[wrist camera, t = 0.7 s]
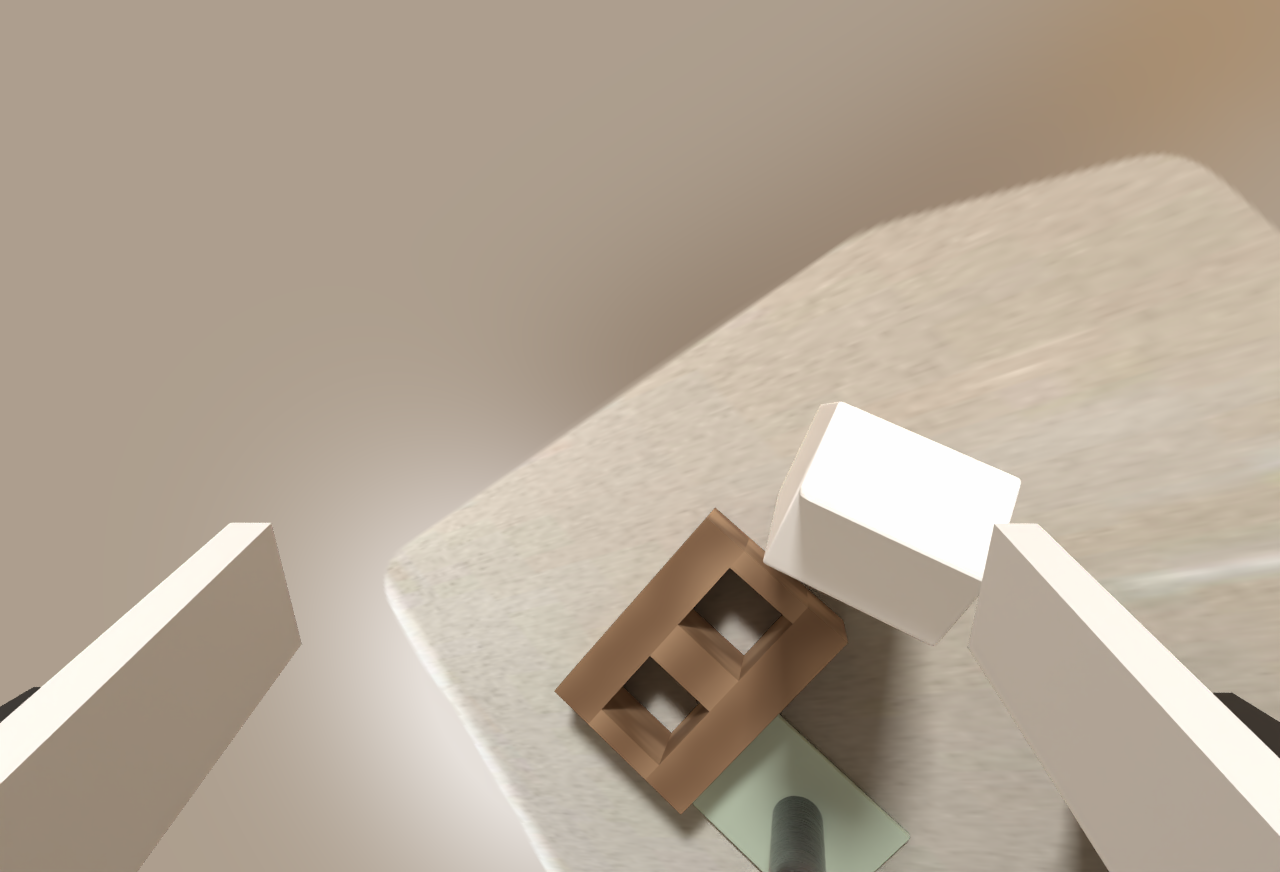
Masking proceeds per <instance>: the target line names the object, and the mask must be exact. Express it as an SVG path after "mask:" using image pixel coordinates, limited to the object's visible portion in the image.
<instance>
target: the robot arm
mask: <svg viewBox="0 0 1280 872" xmlns="http://www.w3.org/2000/svg"><path fill="white" fill-rule="evenodd" d="M301 644H302V643H301V640H300V635H299V631H298V627H297V623H296V619H295V615H294V612H293V607H292V603H291V600H290V595H289V591H288V588H287V583H286V580H285V576H284V571H283V567H282V564H281V559H280V555H279V551H278V547H277V543H276V539H275V535H274V531H273V528H272V524H271V523H230V524H229V525H227V526H226V527H225V528H224V529H223V530H222V531H220V532H219V533H218V534H217V535H216V536H215V537H214V538H212V539H211V540H210V541H209V542H208V543H207V544H206V545H204V546H203V547H202V548H201V549H200V550H199V551H198V552H196V553H195V554H194V555H193V556H192V557H191V558H189V559H188V560H187V561H186V562H185V563H184V564H182V565H181V566H180V567H179V568H178V569H177V570H176V571H174V572H173V573H172V574H171V575H170V576H169V577H168V578H167V579H165V580H164V581H163V582H162V583H161V584H159V585H158V586H157V587H156V588H155V589H154V590H153V591H151V592H150V593H149V594H148V595H147V596H146V597H145V598H143V599H142V600H141V601H140V602H139V603H138V604H136V605H135V606H134V607H133V608H132V609H131V610H130V611H129V612H127V613H126V614H125V615H124V616H123V617H122V618H120V619H119V620H118V621H117V622H116V623H115V624H113V625H112V626H111V627H110V628H109V629H108V630H107V631H105V632H104V633H103V634H102V635H101V636H100V637H99V638H97V640H95V641H94V642H93V643H92V644H91V645H89V646H88V647H87V648H86V649H85V650H84V651H82V652H81V653H80V654H79V655H78V656H77V657H76V658H74V659H73V660H72V661H71V662H70V663H69V664H68V665H66V666H65V667H64V668H63V669H62V670H61V671H60V672H58V673H57V674H56V675H55V676H54V677H53V678H51V679H50V680H49V681H48V682H47V683H46V684H44V685H43V686H42V687H33V688H31V689H30V690H28V691H26V692H24V693H23V694H21V695H19V696H18V697H16V698H14V699H13V700H11V701H9V702H8V703H6V704H4V705H2V706H1V707H0V872H137V871H138V870H139V869H140V867H141V866H142V865H143V863H144V862H145V860H146V859H147V858H148V856H149V855H150V853H151V852H152V851H153V849H154V848H155V846H156V845H157V843H158V842H159V841H160V840H161V838H162V837H163V835H164V834H165V833H166V831H167V830H168V828H169V827H170V826H171V824H172V823H173V822H174V820H175V819H176V817H177V816H178V815H179V813H180V812H181V810H182V809H183V808H184V806H185V805H186V803H187V802H188V801H189V799H190V798H191V797H192V795H193V794H194V792H195V791H196V790H197V788H198V787H199V786H200V784H201V783H202V781H203V780H204V779H205V777H206V775H207V774H208V773H209V772H210V770H211V769H212V768H213V766H214V765H215V763H216V762H217V761H218V759H219V758H220V756H221V755H222V754H223V752H224V751H225V750H226V748H227V747H228V745H229V744H230V743H231V741H232V740H233V738H234V737H235V736H236V734H237V733H238V731H239V730H240V729H241V727H242V725H244V723H245V722H246V720H247V719H248V718H249V716H250V715H251V713H252V712H253V711H254V709H255V708H256V706H257V705H258V704H259V702H260V701H261V700H262V698H263V697H264V695H265V694H266V693H267V691H268V690H269V688H270V687H271V686H272V684H273V683H274V682H275V680H276V679H277V677H278V676H279V675H280V673H281V672H282V670H283V669H284V668H285V666H286V665H287V664H288V662H289V661H290V659H291V658H292V656H293V655H294V654H295V652H296V651H297V650H298V648H299V647H300V645H301ZM968 649H969V650H970V652H971V654H972V655H973V657H974V658H975V660H976V662H977V663H978V665H979V666H980V668H981V669H982V671H983V673H984V674H985V676H986V677H987V679H988V681H989V682H990V684H991V685H992V687H993V688H994V690H995V692H996V693H997V695H998V696H999V698H1000V700H1001V701H1002V703H1003V704H1004V706H1005V707H1006V709H1007V711H1008V712H1009V714H1010V715H1011V717H1012V719H1013V720H1014V722H1015V723H1016V725H1017V726H1018V728H1019V730H1020V731H1021V733H1022V734H1023V736H1024V738H1025V739H1026V741H1027V742H1028V744H1029V745H1030V747H1031V749H1032V750H1033V752H1034V753H1035V755H1036V757H1037V758H1038V760H1039V761H1040V763H1041V764H1042V766H1043V768H1044V769H1045V771H1046V772H1047V774H1048V776H1049V777H1050V779H1051V780H1052V782H1053V784H1054V785H1055V787H1056V788H1057V790H1058V791H1059V793H1060V795H1061V796H1062V798H1063V799H1064V801H1065V803H1066V804H1067V806H1068V807H1069V809H1070V810H1071V812H1072V814H1073V815H1074V817H1075V818H1076V820H1077V822H1078V823H1079V825H1080V826H1081V828H1082V829H1083V831H1084V833H1085V834H1086V836H1087V837H1088V839H1089V841H1090V842H1091V844H1092V845H1093V847H1094V848H1095V850H1096V852H1097V853H1098V855H1099V856H1100V858H1101V860H1102V861H1103V863H1104V864H1105V866H1106V867H1107V869H1108V871H1109V872H1280V722H1279V721H1277V720H1275V719H1274V718H1272V717H1270V716H1269V715H1267V714H1266V713H1264V712H1262V711H1261V710H1259V709H1257V708H1256V707H1254V706H1253V705H1251V704H1249V703H1248V702H1246V701H1245V700H1243V699H1241V698H1240V697H1238V696H1236V695H1235V694H1233V693H1212V692H1211V691H1210V690H1209V689H1208V688H1206V687H1205V686H1204V685H1203V684H1202V683H1201V682H1200V681H1199V680H1198V679H1197V678H1196V677H1195V676H1194V675H1193V674H1192V673H1191V672H1190V671H1189V670H1188V669H1187V668H1186V667H1185V666H1184V665H1183V664H1182V663H1181V662H1180V661H1179V660H1178V659H1177V658H1176V657H1175V656H1174V655H1172V654H1171V653H1170V652H1169V651H1168V650H1167V649H1166V648H1165V647H1164V646H1163V645H1162V644H1161V643H1160V642H1159V641H1158V640H1157V639H1156V638H1155V637H1154V636H1153V635H1152V634H1151V633H1150V632H1149V631H1148V630H1147V629H1146V628H1145V627H1144V626H1143V625H1142V624H1141V623H1139V622H1138V621H1137V620H1136V619H1135V618H1134V617H1133V616H1132V615H1131V614H1130V613H1129V612H1128V611H1127V610H1126V609H1125V608H1124V607H1123V606H1122V605H1121V604H1120V603H1119V602H1118V601H1117V600H1116V599H1115V598H1114V597H1113V596H1112V595H1111V594H1110V593H1109V592H1108V591H1107V590H1105V589H1104V588H1103V587H1102V586H1101V585H1100V584H1099V583H1098V582H1097V581H1096V580H1095V579H1094V578H1093V577H1092V576H1091V575H1090V574H1089V573H1088V572H1087V571H1086V570H1085V569H1084V568H1083V567H1082V566H1081V565H1080V564H1079V563H1078V562H1077V561H1076V560H1075V559H1074V558H1072V557H1071V556H1070V555H1069V554H1068V553H1067V552H1066V551H1065V550H1064V549H1063V548H1062V547H1061V546H1060V545H1059V544H1058V543H1057V542H1056V541H1055V540H1054V539H1053V538H1052V537H1051V536H1050V535H1049V534H1048V533H1047V532H1046V531H1045V530H1044V529H1043V528H1042V527H1041V526H1039V525H1038V524H994V527H993V532H992V536H991V541H990V545H989V550H988V555H987V559H986V564H985V569H984V573H983V578H982V583H981V587H980V592H979V597H978V601H977V606H976V610H975V615H974V620H973V624H972V629H971V634H970V638H969V643H968Z"/></svg>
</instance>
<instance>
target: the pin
mask: <svg viewBox="0 0 1280 872" xmlns="http://www.w3.org/2000/svg"><path fill="white" fill-rule="evenodd" d="M769 872H826V861H825V844H824V828H823V818H822V815H821V812H820V811H819V809H818V808H817V806H816V805H815V804H814V803H813V802H811V801H810V800H808V799H806V798H804V797H800V796H788V797H785V798H783V799H782V800H780V801H779V802H778V803H777V804H776V806H775V807H774V809H773V813H772V826H771V843H770V859H769Z"/></svg>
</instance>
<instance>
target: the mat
mask: <svg viewBox="0 0 1280 872" xmlns="http://www.w3.org/2000/svg"><path fill="white" fill-rule="evenodd" d="M788 796H800V797H804V798H806V799H808V800H810V801H811V802H813V803H814V804H815V805H816V806H817V808H818V809H819V811H820V812H821V815H822V818H823V828H824V844H825V861H826V872H874V871H876V870H877V869H878V868H879V867H880V866H881V865H882V864H883V863H884V862H885V861H886V860H887V859H888V858H890V857H891V856H892V855H893V854H894V853H895V852H896V851H897V850H898V849H899V848H900V847H901V846H902V845H903V844H905V843H906V842H907V841H908V840H909V839H910V836H909V834H908V833H907V832H906V831H905V830H904V829H903V828H902V827H901V826H900V825H899V824H898V823H897V822H895V821H894V820H893V819H892V818H891V817H890V816H889V815H888V814H887V813H886V812H885V811H884V810H882V809H881V808H880V807H879V806H878V805H877V804H876V803H875V802H874V801H873V800H872V799H870V798H869V797H868V796H867V795H866V794H865V793H864V792H863V791H862V790H861V789H860V788H859V787H857V786H856V785H855V784H854V783H853V782H852V781H851V780H850V779H849V778H848V777H847V776H846V775H844V774H843V773H842V772H841V771H840V770H839V769H838V768H837V767H836V766H835V765H834V764H833V763H831V762H830V761H829V760H828V759H827V758H826V757H825V756H824V755H823V754H822V753H821V752H819V751H818V750H817V749H816V748H815V747H814V746H813V745H812V744H811V743H810V742H809V741H808V740H806V739H805V738H804V737H803V736H802V735H801V734H800V733H799V732H798V731H797V730H796V729H795V728H793V727H792V726H791V725H790V724H789V723H788V722H787V721H786V720H785V719H784V718H783V717H781V716H780V715H779V714H778V715H777V716H776V717H775V718H774V719H773V720H772V721H771V723H770V724H769V725H768V726H767V727H766V728H765V729H764V730H763V731H762V732H761V733H760V734H759V735H758V736H757V737H756V738H755V739H754V740H753V741H752V742H751V743H750V744H749V745H748V746H747V747H746V748H745V749H744V750H743V751H742V752H741V753H740V754H739V755H738V756H737V757H736V759H735V760H734V761H733V762H732V763H731V764H730V765H729V766H728V767H727V768H726V769H725V770H724V771H723V772H722V773H721V774H720V775H719V776H718V777H717V778H716V779H715V780H714V781H713V782H712V783H711V784H710V785H709V786H708V787H707V788H706V789H705V790H704V791H703V792H702V793H701V794H700V796H699V797H698V798H697V799H696V800H695V801H694V802H693V803H692V804H693V805H694V806H695V807H696V808H697V809H698V810H699V811H701V812H702V813H703V814H704V815H705V816H706V817H707V818H708V819H709V820H710V821H711V822H712V823H713V824H714V825H715V826H716V827H717V828H718V829H719V830H720V831H721V832H722V833H723V834H724V835H725V836H726V837H727V838H728V839H729V840H730V841H731V842H732V843H734V844H735V845H736V846H737V847H738V848H739V849H740V850H741V851H742V852H743V853H744V854H745V855H746V856H747V857H748V858H749V859H750V860H751V861H752V862H753V863H754V864H755V865H756V866H757V867H758V868H759V869H760V870H761V871H762V872H769V859H770V843H771V826H772V813H773V809H774V807H775V806H776V804H777V803H778V802H779V801H780V800H782V799H783V798H785V797H788Z"/></svg>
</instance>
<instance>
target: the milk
mask: <svg viewBox="0 0 1280 872" xmlns="http://www.w3.org/2000/svg"><path fill="white" fill-rule="evenodd" d="M1020 486H1021V480H1020V479H1019V478H1017V477H1015V476H1013V475H1011V474H1008V473H1006V472H1004V471H1001V470H999V469H997V468H994V467H992V466H990V465H987V464H985V463H983V462H981V461H978V460H976V459H974V458H971V457H969V456H967V455H964V454H962V453H960V452H957V451H955V450H953V449H951V448H948V447H946V446H944V445H941V444H939V443H937V442H934V441H932V440H930V439H927V438H925V437H923V436H921V435H918V434H916V433H914V432H911V431H909V430H907V429H904V428H902V427H900V426H897V425H895V424H893V423H890V422H888V421H886V420H884V419H881V418H879V417H877V416H874V415H872V414H870V413H867V412H865V411H863V410H860V409H858V408H856V407H854V406H851V405H849V404H847V403H844V402H835V403H828V404H822V405H820V406H819V408H818V411H817V413H816V415H815V417H814V419H813V421H812V423H811V425H810V427H809V429H808V432H807V434H806V436H805V438H804V440H803V442H802V444H801V446H800V448H799V451H798V453H797V455H796V457H795V459H794V461H793V463H792V465H791V467H790V469H789V472H788V474H787V476H786V478H785V480H784V482H783V484H782V486H781V488H780V490H779V493H778V497H777V501H776V506H775V510H774V515H773V519H772V523H771V528H770V532H769V537H768V541H767V545H766V550H765V554H764V559H763V562H764V563H765V564H766V565H768V566H770V567H772V568H774V569H776V570H778V571H780V572H782V573H784V574H786V575H788V576H791V577H793V578H795V579H797V580H799V581H801V582H803V583H805V584H807V585H809V586H811V587H813V588H815V589H817V590H819V591H821V592H823V593H825V594H827V595H829V596H831V597H833V598H835V599H837V600H839V601H841V602H843V603H845V604H847V605H849V606H852V607H854V608H856V609H858V610H860V611H862V612H864V613H866V614H868V615H870V616H872V617H874V618H876V619H878V620H880V621H882V622H884V623H886V624H888V625H890V626H892V627H894V628H896V629H898V630H900V631H902V632H904V633H906V634H908V635H910V636H913V637H915V638H917V639H919V640H921V641H923V642H925V643H927V644H929V645H931V646H935V645H936V644H937V643H938V642H939V641H940V640H941V639H942V638H943V637H944V635H945V634H946V633H947V632H948V631H949V630H950V628H951V627H952V626H953V625H954V624H955V623H956V621H957V620H958V619H959V618H960V617H961V616H962V614H963V613H964V612H965V611H966V610H967V609H968V607H969V606H970V605H971V604H972V603H973V602H974V600H975V599H976V598H977V597H978V596H979V592H980V587H981V583H982V578H983V573H984V569H985V564H986V559H987V555H988V550H989V545H990V541H991V536H992V532H993V527H994V524H1009V523H1010V520H1011V517H1012V513H1013V510H1014V506H1015V503H1016V500H1017V496H1018V493H1019V489H1020Z"/></svg>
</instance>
